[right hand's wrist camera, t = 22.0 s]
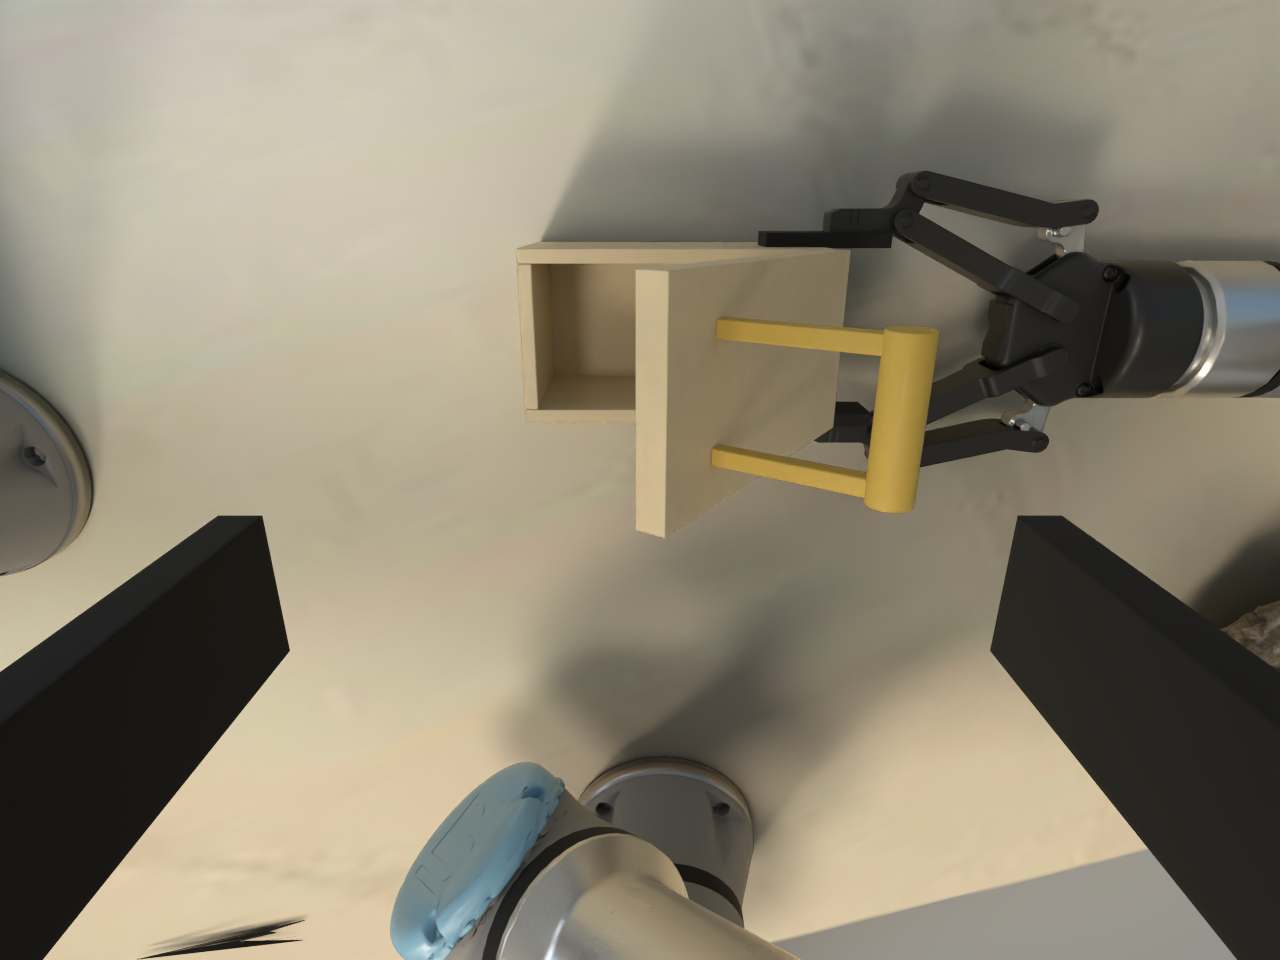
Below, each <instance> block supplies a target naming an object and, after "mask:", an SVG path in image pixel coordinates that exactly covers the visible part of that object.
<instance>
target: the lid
mask: <svg viewBox="0 0 1280 960" xmlns="http://www.w3.org/2000/svg"><path fill="white" fill-rule="evenodd" d="M850 254H851V250H841V249H823V250H813V251H804V252H794V253H784V254H775V255H765V256H755V257H746V258H736V259H726V260H716V261H707V262H697V263H687V264H678V265H668V266H658V267H649V268H639V269H636V530H638V531H641V532H645V533H648V534H652V535H655V536H659V537H662V538H666V537H667V536H669V535H670V534H672V533H673V532H675V531H676V530H678V529H679V528H681V527H682V526H684V525H686V524H687V523H689V522H690V521H692V520H693V519H695V518H696V517H698V516H699V515H701V514H702V513H704V512H705V511H707V510H708V509H710V508H711V507H713V506H714V505H716V504H717V503H719V502H720V501H722V500H724V499H725V498H727V497H728V496H730V495H731V494H733V493H734V492H736V491H737V490H739V489H740V488H742V487H743V486H745V485H746V484H748V483H749V482H751V481H752V480H754V479H755V478H757V477H759V476H764V477H769V478H773V479H778V480H783V481H787V482H792V483H797V484H802V485H806V486H811V487H816V488H820V489H825V490H830V491H834V492H839V493H844V494H848V495H853V496H858V497H862V498H864V499H863V501H864V503H865V505H866V506H868V507H870V508H872V509H874V510H877V511H881V512H887V513H904V512H908V511H911V510H912V509H913V508H914V503H915V496H916V489H917V482H918V476H919V469H920V462H921V455H922V449H923V442H924V435H925V428H926V422H927V415H928V408H929V401H930V395H931V388H932V381H933V374H934V368H935V361H936V354H937V347H938V341H939V334H940V332H939V330H937V329H934V328H929V327H922V326H889V327H886V328H885V329H884V330H874V329H863V328H851V327H843V324H844V314H845V304H846V294H847V284H848V274H849V264H850ZM841 352H847V353H856V354H866V355H875V356H881V358H880V367H879V375H878V383H877V391H876V400H875V408H874V416H873V425H872V433H871V441H870V449H869V458H868V466H867V473H866V472H861V471H856V470H851V469H846V468H841V467H835V466H830V465H825V464H820V463H815V462H810V461H805V460H799V459H794V458H789V456H790V455H792V454H793V453H795V452H797V451H798V450H800V449H801V448H803V447H804V446H806V445H807V444H809V443H810V442H812V441H813V440H815V439H816V438H818V437H819V436H821V435H822V434H824V433H825V432H827V431H828V430H830V429H832V428H833V423H834V413H835V403H836V393H837V383H838V373H839V363H840V353H841Z"/></svg>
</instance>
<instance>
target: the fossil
mask: <svg viewBox="0 0 1280 960" xmlns="http://www.w3.org/2000/svg"><path fill="white" fill-rule="evenodd" d="M1219 629H1220V630H1222V631H1223V632H1225V633H1226V634H1227V635H1229V636H1230V637H1232V638H1233V639H1234V640H1236V641H1237V642H1239V643H1240V644H1241V645H1243V646H1244V647H1246V648H1247V649H1248V650H1250V651H1251V652H1252V653H1254V654H1255V655H1257V656H1258V657H1259V658H1261V659H1262V660H1264V661H1265V662H1266V663H1268V664H1269V665H1272V666H1274V667H1276V668H1278V669H1280V600H1279V601H1275V602H1271V603H1268V604H1266V605H1264V606H1258V607H1257V608H1256V609H1255V610H1254V611H1252V612H1247V613H1246V614H1244V615H1242V616H1241V617H1240V619H1239V620H1237V621H1236V622H1234V623H1232V624H1231V625H1229V626H1227V627H1225V628H1219Z"/></svg>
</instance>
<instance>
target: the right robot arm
mask: <svg viewBox="0 0 1280 960" xmlns="http://www.w3.org/2000/svg"><path fill="white" fill-rule="evenodd" d="M90 504H91V481H90V476H89V471H88V467H87V464H86V461H85V458H84V456H83V453H82V451H81V449H80V447H79V445H78V442H77V441H76V439H75V437H74V436H73V434H72V432H71V431H70V429H69V428H68V427H67V425H66V424H65V422H64V421H63V420H62V419H61V417H60V416H59V415H58V414H57V413H56V412H55V411H54V410H53V409H52V407H51V406H50V405H49V404H48V403H47V402H45V401H44V400H43V399H42V398H41V397H40V396H39V395H38V394H36V393H35V392H34V391H32V390H31V389H30V388H28V387H27V386H26V385H24V384H23V383H21V382H19V381H18V380H16V379H15V378H13V377H11V376H9V375H7V374H6V373H4V372H1V371H0V576H5V575H10V574H14V573H18V572H21V571H25V570H28V569H30V568H32V567H35V566H37V565H38V564H40V563H42V562H44V561H46V560H47V559H49V558H51V557H52V556H54V555H56V554H58V553H59V552H61V551H62V550H64V549H65V548H66V547H68V546H69V545H70V544H71V543H72V542H73V541H74V540H75V538H76V537H77V536H78V535H79V533H80V532H81V530H82V528H83V527H84V524H85V522H86V520H87V517H88V514H89V510H90ZM289 651H290V649H289V644H288V639H287V635H286V630H285V625H284V620H283V615H282V610H281V605H280V600H279V595H278V590H277V586H276V581H275V576H274V571H273V566H272V561H271V556H270V551H269V546H268V541H267V537H266V532H265V527H264V522H263V517H262V516H217V517H216V518H214V519H213V520H211V521H210V522H209V523H207V524H206V525H205V526H203V527H202V528H200V529H199V530H198V531H196V532H195V533H193V534H192V535H191V536H189V537H188V538H186V539H185V540H184V541H182V542H181V543H179V544H178V545H177V546H175V547H174V548H172V549H171V550H170V551H168V552H167V553H165V554H164V555H163V556H161V557H160V558H159V559H157V560H156V561H154V562H153V563H152V564H150V565H149V566H147V567H146V568H145V569H143V570H142V571H140V572H139V573H138V574H136V575H135V576H133V577H132V578H131V579H129V580H128V581H126V582H125V583H124V584H122V585H121V586H120V587H118V588H117V589H115V590H114V591H113V592H111V593H110V594H108V595H107V596H106V597H104V598H103V599H101V600H100V601H99V602H97V603H96V604H94V605H93V606H92V607H90V608H89V609H87V610H86V611H85V612H83V613H82V614H80V615H79V616H78V617H76V618H75V619H74V620H72V621H71V622H69V623H68V624H67V625H65V626H64V627H62V628H61V629H60V630H58V631H57V632H55V633H54V634H53V635H51V636H50V637H48V638H47V639H46V640H44V641H43V642H41V643H40V644H39V645H37V646H36V647H34V648H33V649H32V650H30V651H29V652H28V653H26V654H25V655H23V656H22V657H21V658H19V659H18V660H16V661H15V662H14V663H12V664H11V665H9V666H8V667H7V668H5V669H4V670H2V671H1V672H0V960H43V959H44V957H45V956H46V955H47V954H48V952H49V951H50V950H51V949H52V947H53V946H54V945H55V944H56V942H57V941H58V940H59V939H60V937H61V936H62V935H63V934H64V932H65V931H66V930H67V929H68V927H69V926H70V925H71V924H72V922H73V921H74V920H75V919H76V917H77V916H78V915H79V914H80V912H81V911H82V910H83V909H84V907H85V906H86V905H87V904H88V902H89V901H90V900H91V899H92V897H93V896H94V895H95V894H96V892H97V891H98V890H99V889H100V887H101V886H102V885H103V884H104V882H105V881H106V880H107V879H108V877H109V876H110V875H111V874H112V872H113V871H114V870H115V869H116V867H117V866H118V865H119V864H120V862H121V861H122V860H123V859H124V857H125V856H126V855H127V854H128V852H129V851H130V850H131V849H132V847H133V846H134V845H135V844H136V842H137V841H138V840H139V839H140V837H141V836H142V835H143V834H144V832H145V831H146V830H147V829H148V827H149V826H150V825H151V824H152V822H153V821H154V820H155V819H156V817H157V816H158V815H159V814H160V812H161V811H162V810H163V809H164V807H165V806H166V805H167V804H168V802H169V801H170V800H171V799H172V797H173V796H174V795H175V794H176V792H177V791H178V790H179V789H180V787H181V786H182V785H183V784H184V782H185V781H186V780H187V779H188V777H189V776H190V775H191V774H192V772H193V771H194V770H195V769H196V767H197V766H198V765H199V764H200V762H201V761H202V760H203V759H204V757H205V756H206V755H207V754H208V752H209V751H210V750H211V749H212V747H213V746H214V745H215V744H216V742H217V741H218V740H219V739H220V737H221V736H222V735H223V734H224V732H225V731H226V730H227V729H228V727H229V726H230V725H231V724H232V722H233V721H234V720H235V719H236V717H237V716H238V715H239V714H240V712H241V711H242V710H243V709H244V707H245V706H246V705H247V704H248V702H249V701H250V700H251V699H252V697H253V696H254V695H255V694H256V692H257V691H258V690H259V689H260V687H261V686H262V685H263V684H264V682H265V681H266V680H267V679H268V677H269V676H270V675H271V674H272V672H273V671H274V670H275V669H276V667H277V666H278V665H279V664H280V662H281V661H282V660H283V659H284V657H285V656H286V655H287V654H288V652H289ZM990 651H991V652H992V654H993V655H994V656H995V657H996V659H997V660H998V661H999V662H1000V664H1001V665H1002V666H1003V667H1004V669H1005V670H1006V671H1007V672H1008V674H1009V675H1010V676H1011V677H1012V679H1013V680H1014V681H1015V682H1016V684H1017V685H1018V686H1019V687H1020V689H1021V690H1022V691H1023V692H1024V694H1025V695H1026V696H1027V697H1028V699H1029V700H1030V701H1031V702H1032V704H1033V705H1034V706H1035V707H1036V709H1037V710H1038V711H1039V712H1040V714H1041V715H1042V716H1043V717H1044V719H1045V720H1046V721H1047V722H1048V724H1049V725H1050V726H1051V727H1052V729H1053V730H1054V731H1055V732H1056V734H1057V735H1058V736H1059V737H1060V739H1061V740H1062V741H1063V742H1064V744H1065V745H1066V746H1067V747H1068V749H1069V750H1070V751H1071V752H1072V754H1073V755H1074V756H1075V757H1076V759H1077V760H1078V761H1079V762H1080V764H1081V765H1082V766H1083V767H1084V769H1085V770H1086V771H1087V772H1088V774H1089V775H1090V776H1091V777H1092V779H1093V780H1094V781H1095V782H1096V784H1097V785H1098V786H1099V787H1100V789H1101V790H1102V791H1103V792H1104V794H1105V795H1106V796H1107V797H1108V799H1109V800H1110V801H1111V802H1112V804H1113V805H1114V806H1115V807H1116V809H1117V810H1118V811H1119V812H1120V814H1121V815H1122V816H1123V817H1124V819H1125V820H1126V821H1127V822H1128V824H1129V825H1130V826H1131V827H1132V829H1133V830H1134V831H1135V832H1136V834H1137V835H1138V836H1139V837H1140V839H1141V840H1142V841H1143V842H1144V844H1145V845H1146V846H1147V847H1148V849H1149V850H1150V851H1151V852H1152V854H1153V855H1154V856H1155V857H1156V859H1157V860H1158V861H1159V862H1160V864H1161V865H1162V866H1163V867H1164V869H1165V870H1166V871H1167V872H1168V874H1169V875H1170V876H1171V877H1172V879H1173V880H1174V881H1175V882H1176V884H1177V885H1178V886H1179V887H1180V889H1181V890H1182V891H1183V892H1184V894H1185V895H1186V896H1187V897H1188V899H1189V900H1190V901H1191V902H1192V904H1193V905H1194V906H1195V907H1196V909H1197V910H1198V911H1199V912H1200V914H1201V915H1202V916H1203V917H1204V919H1205V920H1206V921H1207V922H1208V924H1209V925H1210V926H1211V927H1212V929H1213V930H1214V931H1215V932H1216V934H1217V935H1218V936H1219V937H1220V939H1221V940H1222V941H1223V942H1224V944H1225V945H1226V946H1227V947H1228V949H1229V950H1230V951H1231V952H1232V954H1233V955H1234V956H1235V957H1236V959H1237V960H1280V669H1278V668H1276V667H1274V666H1272V665H1269V664H1268V663H1266V662H1265V661H1264V660H1262V659H1261V658H1259V657H1258V656H1257V655H1255V654H1254V653H1252V652H1251V651H1250V650H1248V649H1247V648H1246V647H1244V646H1243V645H1241V644H1240V643H1239V642H1237V641H1236V640H1234V639H1233V638H1232V637H1230V636H1229V635H1227V634H1226V633H1225V632H1223V631H1222V630H1220V629H1219V628H1218V627H1216V626H1215V625H1213V624H1212V623H1211V622H1209V621H1208V620H1206V619H1205V618H1204V617H1202V616H1201V615H1200V614H1198V613H1197V612H1195V611H1194V610H1193V609H1191V608H1190V607H1188V606H1187V605H1186V604H1184V603H1183V602H1181V601H1180V600H1179V599H1177V598H1176V597H1174V596H1173V595H1172V594H1170V593H1169V592H1167V591H1166V590H1165V589H1163V588H1162V587H1160V586H1159V585H1158V584H1156V583H1155V582H1154V581H1152V580H1151V579H1149V578H1148V577H1147V576H1145V575H1144V574H1142V573H1141V572H1140V571H1138V570H1137V569H1135V568H1134V567H1133V566H1131V565H1130V564H1128V563H1127V562H1126V561H1124V560H1123V559H1121V558H1120V557H1119V556H1117V555H1116V554H1115V553H1113V552H1112V551H1110V550H1109V549H1108V548H1106V547H1105V546H1103V545H1102V544H1101V543H1099V542H1098V541H1096V540H1095V539H1094V538H1092V537H1091V536H1089V535H1088V534H1087V533H1085V532H1084V531H1082V530H1081V529H1080V528H1078V527H1077V526H1075V525H1074V524H1073V523H1071V522H1070V521H1069V520H1067V519H1066V518H1064V517H1063V516H1018V517H1017V522H1016V527H1015V532H1014V537H1013V541H1012V546H1011V551H1010V556H1009V561H1008V566H1007V571H1006V576H1005V581H1004V586H1003V590H1002V595H1001V600H1000V605H999V610H998V615H997V620H996V625H995V630H994V635H993V639H992V644H991V649H990Z"/></svg>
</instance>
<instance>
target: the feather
mask: <svg viewBox="0 0 1280 960" xmlns="http://www.w3.org/2000/svg"><path fill="white" fill-rule="evenodd" d="M302 921H304V920H302ZM298 922H299V923H300V922H301V921H298ZM298 922H293V923H289V924H285V925H281V926H276V927H272V928H268V929H264V930H259V931H255V932H251V933H247V934H243V935H238V936H234V937H230V938H226V939H221V940H217V941H213V942H209V943H204V944H200V945H196V946H192V947H187V948H183V949H179V950H175V951H170V952H166V953H162V954H158V955H153V956H149V957H145V958H154V957H163V956H171V955H180V954H189V953H197V952H206V951H215V950H223V949H232V948H241V947H249V946H258V945H267V944H276V943H284V942H293V941H301V940H275V939H273V940H271V941H268V940H265V941H244V940H248V939H251V938H255V937H260V936H264V935H269V934H274V933H276V932H270V931H272V930H275V929H279V928H282V927H285V926H288V925H292V924H295V923H298ZM288 931H289V930H288ZM278 933H279V932H278ZM295 937H296V936H295ZM288 938H289V937H288ZM281 939H282V938H281ZM145 958H141V959H145ZM137 960H138V959H137Z"/></svg>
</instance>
